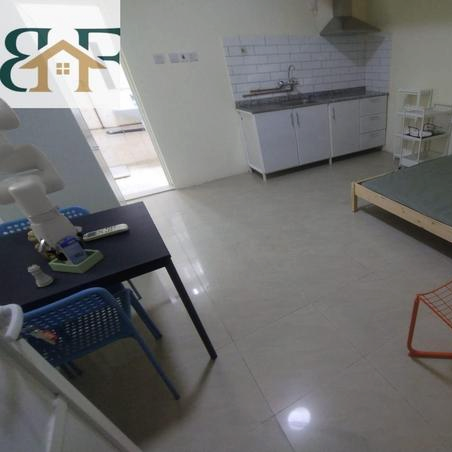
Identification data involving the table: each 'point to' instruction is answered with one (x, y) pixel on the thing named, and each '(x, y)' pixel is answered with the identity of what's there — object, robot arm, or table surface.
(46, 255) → the decorative figurine
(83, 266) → the open rectangular box
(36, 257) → the table surface
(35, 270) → the rook chess piece
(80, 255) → the ink cartridge box
